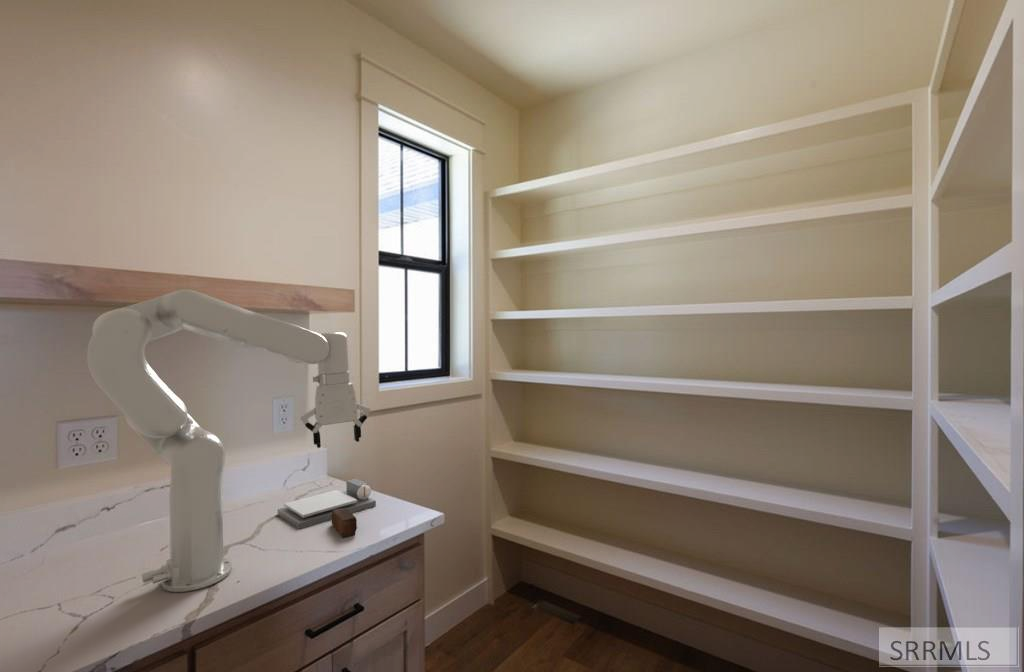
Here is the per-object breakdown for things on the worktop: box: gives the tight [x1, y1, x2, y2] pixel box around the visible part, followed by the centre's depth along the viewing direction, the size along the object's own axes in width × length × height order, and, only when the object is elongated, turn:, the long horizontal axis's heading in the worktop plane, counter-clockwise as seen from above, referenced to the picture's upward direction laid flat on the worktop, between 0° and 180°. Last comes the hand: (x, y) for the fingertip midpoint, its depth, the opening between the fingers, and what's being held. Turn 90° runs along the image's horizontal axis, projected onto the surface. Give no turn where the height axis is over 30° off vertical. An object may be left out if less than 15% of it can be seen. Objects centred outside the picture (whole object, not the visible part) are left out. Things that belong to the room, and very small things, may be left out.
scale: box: [277, 478, 377, 530], centre depth 141 cm, size 23×15×6 cm, turn 137°
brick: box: [330, 508, 358, 539], centre depth 127 cm, size 11×4×5 cm, turn 35°
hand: (338, 443), depth 126 cm, fingers open, 9 cm apart
